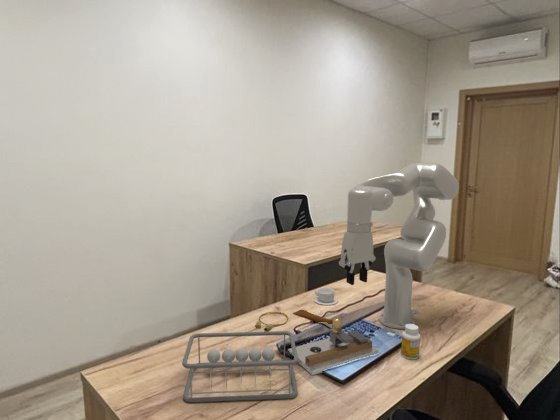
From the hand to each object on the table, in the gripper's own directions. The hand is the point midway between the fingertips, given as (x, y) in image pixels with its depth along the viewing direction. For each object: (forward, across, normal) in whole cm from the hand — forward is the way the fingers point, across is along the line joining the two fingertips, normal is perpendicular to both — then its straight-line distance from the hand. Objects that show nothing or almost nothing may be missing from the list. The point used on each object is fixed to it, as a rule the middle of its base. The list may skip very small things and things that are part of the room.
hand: (356, 281), depth 131 cm
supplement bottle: (+22, -10, +14) cm, 28 cm away
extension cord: (+22, +17, -28) cm, 40 cm away
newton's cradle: (+16, +38, -6) cm, 42 cm away
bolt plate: (+21, +10, +2) cm, 24 cm away
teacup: (+22, -13, -35) cm, 43 cm away
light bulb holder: (+20, +7, +2) cm, 21 cm away
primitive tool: (+22, +2, -22) cm, 31 cm away
